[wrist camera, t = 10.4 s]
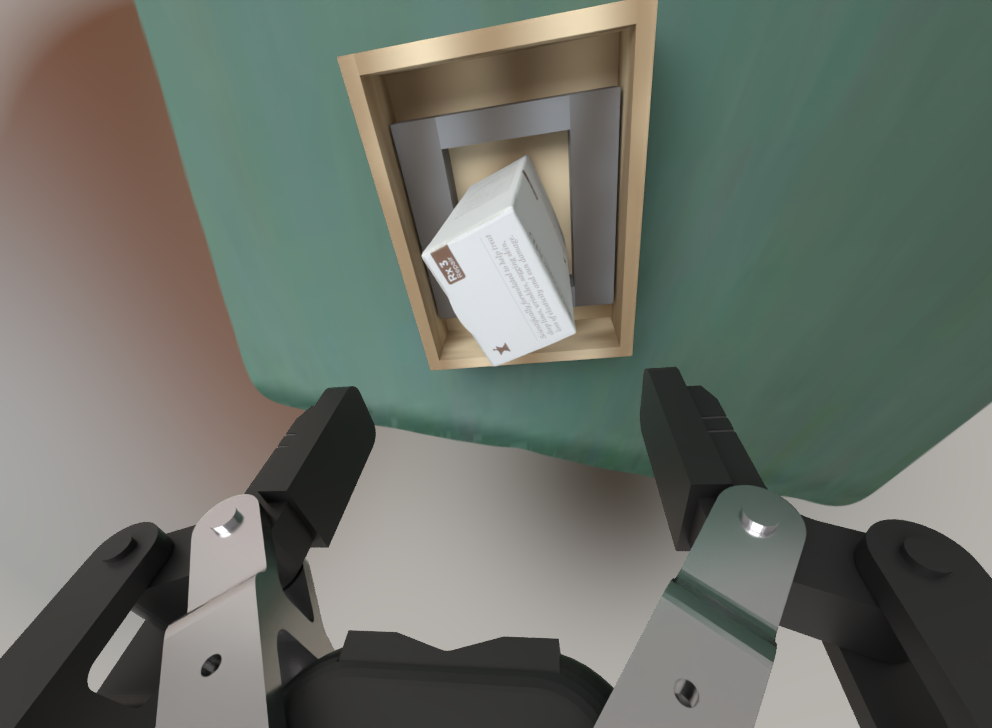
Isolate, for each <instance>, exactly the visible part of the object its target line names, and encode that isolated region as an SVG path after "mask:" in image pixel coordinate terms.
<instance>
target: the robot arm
mask: <svg viewBox="0 0 992 728" xmlns="http://www.w3.org/2000/svg"><path fill="white" fill-rule="evenodd" d="M640 423H641V431H642V435H643V439H644V442H645V446H646V449H647V453H648V456H649V460H650V463H651V466H652V470H653V473H654V477H655V480H656V484H657V487H658V490H659V494H660V497H661V501H662V504H663V508H664V511H665V515H666V518H667V522H668V525H669V529H670V532H671V535H672V539H673V542H674V546H675V549H676V551H690V552H689V554H688V556H687V558H686V560H685V562H684V564H683V566H682V568H681V570H680V572H679V574H678V575H677V577H676V578H675V579H674V578H673V579H672V580H671V582H670V583H669V585H668V586H667V588H666V590H665V591H664V593H663V595H662V597H661V599H660V601H659V603H658V605H657V607H656V609H655V610H654V612H653V614H652V616H651V618H650V620H649V622H648V624H647V626H646V628H645V630H644V632H643V633H642V635H641V637H640V639H639V641H638V643H637V645H636V647H635V649H634V651H633V653H632V655H631V657H630V658H629V660H628V662H627V664H626V666H625V668H624V670H623V672H622V674H621V676H620V678H619V680H618V682H617V684H616V685H615V687H614V688H613V687H612V686H611V685H610V684H609V683H608V682H607V681H606V680H604V679H603V678H602V677H601V676H600V675H598V674H597V673H596V672H594V671H593V670H592V669H590V668H589V667H587V666H586V665H584V664H582V663H580V662H578V661H576V660H575V659H572V658H570V657H567V656H564V655H562V654H561V653H560V647H559V639H550V638H524V637H501V638H497V639H493V640H489V641H485V642H482V643H478V644H474V645H471V646H467V647H463V648H459V649H455V650H452V651H443V650H440V649H438V648H435V647H433V646H430V645H427V644H425V643H423V642H420V641H417V640H415V639H412V638H410V637H407V636H405V635H402V634H400V633H397V632H375V631H351V630H350V631H348V634H347V637H346V640H345V643H344V646H343V648H340V649H338V650H334V648H333V646H332V644H331V642H330V640H329V639H328V637H327V635H326V633H325V630H324V627H323V623H322V619H321V615H320V610H319V605H318V601H317V596H316V593H315V587H314V583H313V579H312V574H311V570H310V566H309V562H308V561H307V560H306V558H305V557H306V555H307V553H308V551H309V549H310V547H329V545H330V543H331V540H332V538H333V536H334V534H335V531H336V529H337V526H338V524H339V522H340V520H341V518H342V515H343V513H344V511H345V509H346V506H347V504H348V502H349V500H350V497H351V495H352V493H353V491H354V488H355V486H356V484H357V481H358V479H359V477H360V475H361V472H362V470H363V468H364V466H365V463H366V461H367V459H368V457H369V454H370V452H371V450H372V448H373V445H374V442H375V436H376V432H375V425H374V422H373V420H372V418H371V416H370V414H369V411H368V409H367V407H366V405H365V403H364V400H363V398H362V396H361V394H360V392H359V390H358V389H357V388H356V387H354V386H350V387H334V388H328V389H326V390H325V391H324V393H323V394H322V396H321V397H320V399H319V400H318V402H317V403H316V404H315V406H311V407H310V408H309V409H308V410H307V411H305V412H304V413H303V414H302V415H301V416H299V417H298V418H297V419H296V420H295V422H294V423H293V425H292V426H291V428H290V429H289V430H288V432H287V436H284V438H283V439H282V440H281V442H280V443H279V445H278V448H276V449H275V450H274V452H273V454H272V455H271V456H270V458H269V459H268V461H267V462H266V463H265V465H264V466H263V468H262V469H261V471H260V472H259V473H258V475H257V476H256V478H255V479H254V480H253V482H252V483H251V485H250V486H249V488H248V489H247V490H246V492H245V493H244V494H240V495H235V496H233V497H230V498H228V499H225V500H223V501H221V502H220V503H218V504H217V505H215V506H214V507H213V508H211V509H210V510H209V511H208V512H207V513H206V514H205V515H204V516H203V517H202V518H201V519H200V520H199V522H198V523H197V524H196V525H194V526H191V527H188V528H184V529H181V530H177V531H174V532H171V533H167V534H165V533H164V532H163V531H162V530H161V529H160V528H158V527H157V526H156V525H155V524H153V523H151V522H142V523H138V524H134V525H131V526H129V527H127V528H125V529H123V530H121V531H119V532H117V533H116V534H114V535H113V536H111V537H110V538H109V539H108V540H106V541H105V542H104V543H102V545H100V546H99V547H98V548H97V549H96V550H95V551H94V552H93V553H92V555H91V556H90V557H89V558H88V559H87V560H86V561H85V562H84V564H83V565H82V566H81V567H80V568H79V569H78V570H77V572H76V573H75V574H74V575H73V576H72V577H71V578H70V580H69V581H68V582H67V583H66V584H65V585H64V586H63V588H62V589H61V590H60V591H59V592H58V593H57V595H56V596H55V597H54V598H53V599H52V600H51V601H50V602H49V604H48V605H47V606H46V607H45V608H44V609H43V610H42V612H41V613H40V614H39V615H38V616H37V617H36V619H35V620H34V621H33V622H32V623H31V624H30V625H29V627H28V628H27V629H26V630H25V631H24V632H23V633H22V634H21V636H20V637H19V638H18V639H17V640H16V641H15V643H14V644H13V645H12V646H11V647H10V648H9V649H8V650H7V652H6V653H5V654H4V655H3V656H2V658H0V728H155V727H156V728H754V726H755V722H756V719H757V716H758V712H759V709H760V706H761V703H762V699H763V696H764V693H765V689H766V686H767V682H768V679H769V676H770V673H771V669H772V666H773V662H774V659H775V654H776V649H777V644H776V642H775V637H776V633H777V630H778V626H782V627H785V628H787V629H791V630H793V631H797V632H799V633H802V634H805V635H808V636H811V637H814V638H816V639H819V640H822V642H823V645H824V647H825V649H826V651H827V654H828V656H829V658H830V660H831V663H832V665H833V667H834V670H835V672H836V674H837V676H838V679H839V681H840V683H841V685H842V688H843V690H844V692H845V694H846V697H847V699H848V701H849V703H850V706H851V708H852V710H853V712H854V715H855V717H856V719H857V721H858V724H859V726H860V728H992V578H991V577H990V576H989V575H988V573H987V572H986V571H985V570H984V569H983V568H982V566H981V565H980V564H979V563H978V562H977V561H976V560H975V558H974V557H973V556H972V555H971V554H970V553H968V552H967V551H966V550H965V549H964V548H963V547H961V546H960V545H959V544H957V543H956V542H955V541H953V540H951V539H950V538H948V537H946V536H945V535H943V534H941V533H939V532H937V531H935V530H933V529H931V528H928V527H926V526H923V525H920V524H917V523H914V522H909V521H904V520H896V519H893V520H883V521H879V522H877V523H875V524H873V525H872V526H871V527H870V528H869V529H868V531H867V532H866V533H864V532H860V531H856V530H852V529H848V528H844V527H840V526H835V525H832V524H828V523H823V522H820V521H816V520H813V519H810V518H807V517H805V516H803V515H800V514H799V513H798V511H797V510H796V509H795V508H794V507H793V506H792V505H791V504H790V503H789V502H788V501H786V500H785V499H784V498H782V497H781V496H779V495H778V494H776V493H774V492H772V491H769V490H768V489H767V488H766V486H765V485H764V483H763V481H762V479H761V478H760V476H759V474H758V472H757V470H756V468H755V467H754V465H753V463H752V461H751V459H750V458H749V456H748V454H747V452H746V450H745V449H744V447H743V445H742V443H741V441H740V439H739V438H738V436H737V434H736V432H734V431H733V427H732V425H731V423H730V421H729V420H728V418H726V414H725V412H724V410H723V409H722V407H721V405H720V403H719V401H718V400H717V398H715V397H714V396H713V395H712V394H710V393H709V392H708V391H707V390H705V389H704V388H703V387H702V386H686V384H685V382H684V380H683V378H682V376H681V374H680V372H679V370H678V368H677V367H666V368H650V369H645V371H644V375H643V386H642V397H641V408H640ZM130 610H131V611H132V612H134V613H136V614H137V615H139V616H140V617H142V618H143V619H145V621H144V623H143V624H142V626H141V627H140V629H139V630H138V632H137V633H136V635H135V637H134V638H133V640H132V641H131V642H130V644H129V646H128V647H127V648H126V650H125V651H124V653H123V654H122V656H121V657H120V659H119V661H118V662H117V663H116V665H115V666H114V668H113V669H112V671H111V672H110V674H109V675H108V677H107V678H106V680H105V681H104V683H103V684H102V686H101V687H100V689H99V690H98V692H97V693H95V692H93V691H91V690H90V689H89V687H88V683H87V678H88V674H89V671H90V668H91V666H92V664H93V663H94V661H95V660H96V658H97V657H98V656H99V654H100V653H101V651H102V650H103V648H104V647H105V646H106V644H107V643H108V641H109V640H110V639H111V637H112V636H113V634H114V633H115V631H116V630H117V629H118V627H119V626H120V625H121V623H122V622H123V620H124V619H125V618H126V616H127V614H128V613H129V612H130Z"/></svg>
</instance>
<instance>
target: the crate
mask: <svg viewBox="0 0 992 728" xmlns="http://www.w3.org/2000/svg"><path fill="white" fill-rule="evenodd" d="M657 4H658V0H625V1H620V2H615V3H610V4H604V5H599V6H594V7H589V8H584V9H579V10H574V11H569V12H564V13H559V14H554V15H549V16H543V17H538V18H533V19H528V20H523V21H518V22H513V23H508V24H503V25H498V26H493V27H487V28H482V29H477V30H472V31H467V32H462V33H457V34H452V35H447V36H442V37H437V38H432V39H426V40H421V41H416V42H411V43H406V44H401V45H396V46H391V47H386V48H381V49H376V50H371V51H365V52H360V53H355V54H350V55H345V56H340V57H337V59H338V62H339V66H340V69H341V72H342V76H343V79H344V82H345V86H346V89H347V92H348V96H349V99H350V102H351V106H352V109H353V112H354V116H355V119H356V122H357V126H358V129H359V132H360V136H361V139H362V142H363V146H364V149H365V152H366V156H367V159H368V162H369V166H370V169H371V172H372V176H373V179H374V182H375V186H376V189H377V192H378V196H379V199H380V202H381V206H382V209H383V212H384V216H385V219H386V222H387V226H388V229H389V232H390V236H391V239H392V242H393V246H394V249H395V252H396V256H397V259H398V262H399V266H400V269H401V272H402V276H403V279H404V282H405V286H406V289H407V292H408V296H409V299H410V302H411V306H412V309H413V312H414V316H415V319H416V322H417V326H418V329H419V333H420V336H421V339H422V343H423V346H424V349H425V353H426V356H427V359H428V363H429V366H430V369H431V370H443V369H457V368H471V367H485V366H492V364H491V363H490V361H489V360H488V358H487V357H486V355H485V354H484V352H483V351H482V349H481V348H480V346H479V345H478V343H477V342H476V340H475V339H474V337H473V336H472V334H471V333H470V332H469V331H468V330H467V329H466V328H465V327H464V326H463V325H462V323H461V322H460V321H459V319H458V317H457V316H456V314H455V312H454V310H453V308H452V306H451V304H450V301H449V299H448V297H447V295H446V294H445V292H444V291H443V289H442V288H441V286H440V285H439V283H438V282H437V280H436V279H435V277H434V276H433V274H432V272H431V271H430V269H429V268H428V266H427V265H426V263H425V262H424V261H423V259H422V253H423V251H424V250H425V249H426V248H427V246H428V245H429V244H430V242H431V241H432V240H433V238H434V237H435V236H436V234H437V233H438V231H439V230H440V229H441V227H442V226H443V224H444V223H445V221H446V220H447V219H448V217H449V216H450V214H451V213H452V211H453V210H454V208H455V207H456V206H457V204H458V203H459V201H460V200H461V199H462V197H463V196H464V194H465V193H466V192H467V190H468V188H469V187H470V186H471V185H473V184H475V183H477V182H479V181H481V180H483V179H484V178H486V177H488V176H490V175H492V174H493V173H495V172H497V171H499V170H501V169H502V168H504V167H506V166H508V165H509V164H511V163H513V162H515V161H516V160H518V159H520V158H521V157H523V156H525V155H526V154H527V155H529V157H530V159H531V161H532V163H533V165H534V167H535V169H536V171H537V173H538V175H539V177H540V180H541V182H542V184H543V186H544V188H545V190H546V193H547V195H548V197H549V200H550V202H551V204H552V206H553V209H554V211H555V214H556V217H557V219H558V222H559V225H560V227H561V230H562V233H563V236H564V239H565V244H566V252H567V261H568V269H569V277H570V285H571V293H572V303H573V312H574V321H575V327H576V333H575V334H574V335H571V336H569V337H567V338H565V339H562V340H560V341H558V342H556V343H553V344H551V345H548V346H546V347H543V348H541V349H538V350H536V351H534V352H531V353H529V354H526V355H524V356H521V357H519V358H516V359H514V360H511V361H509V362H506V363H504V364H501V365H513V364H527V363H540V362H554V361H568V360H582V359H596V358H610V357H623V356H632V350H633V336H634V323H635V309H636V295H637V281H638V267H639V253H640V239H641V226H642V212H643V198H644V184H645V170H646V156H647V142H648V129H649V115H650V101H651V87H652V73H653V59H654V45H655V32H656V18H657ZM498 366H499V365H498Z"/></svg>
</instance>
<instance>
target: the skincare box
mask: <svg viewBox="0 0 992 728" xmlns="http://www.w3.org/2000/svg"><path fill="white" fill-rule="evenodd" d="M422 259H423V261H424V262H425V263H426V265H427V266H428V268H429V269H430V271H431V272H432V274H433V276H434V277H435V279H436V280H437V282H438V283H439V285H440V286H441V288H442V289H443V291H444V292H445V294H446V295H447V297H448V299H449V301H450V304H451V306H452V308H453V310H454V312H455V314H456V316H457V317H458V319H459V321H460V322H461V323H462V325H463V326H464V327H465V328H466V329H467V330H468V331H469V332H470V333H471V334H472V336H473V337H474V339H475V340H476V342H477V343H478V345H479V346H480V348H481V349H482V351H483V352H484V354H485V355H486V357H487V358H488V360H489V361H490V363H491V364H492V366H494V367H496V366H498V365H501V364H504V363H506V362H509V361H511V360H514V359H516V358H519V357H521V356H524V355H526V354H529V353H531V352H534V351H536V350H538V349H541V348H543V347H546V346H548V345H551V344H553V343H556V342H558V341H560V340H562V339H565V338H567V337H569V336H571V335H574V334H575V333H576V327H575V321H574V312H573V303H572V293H571V285H570V277H569V269H568V261H567V252H566V244H565V239H564V236H563V233H562V230H561V227H560V225H559V222H558V219H557V217H556V214H555V211H554V209H553V206H552V204H551V202H550V200H549V197H548V195H547V193H546V190H545V188H544V186H543V184H542V182H541V180H540V177H539V175H538V173H537V171H536V169H535V167H534V165H533V163H532V161H531V159H530V157H529V155H527V154H526V155H525V156H523V157H521V158H520V159H518V160H516V161H515V162H513V163H511V164H509V165H508V166H506V167H504V168H502V169H501V170H499V171H497V172H495V173H493V174H492V175H490V176H488V177H486V178H484V179H483V180H481V181H479V182H477V183H475V184H473V185H471V186H470V187H469V188H468V190H467V192H466V193H465V194H464V196H463V197H462V199H461V200H460V201H459V203H458V204H457V206H456V207H455V208H454V210H453V211H452V213H451V214H450V216H449V217H448V219H447V220H446V221H445V223H444V224H443V226H442V227H441V229H440V230H439V231H438V233H437V234H436V236H435V237H434V238H433V240H432V241H431V242H430V244H429V245H428V246H427V248H426V249H425V250H424V251H423V253H422Z"/></svg>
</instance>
